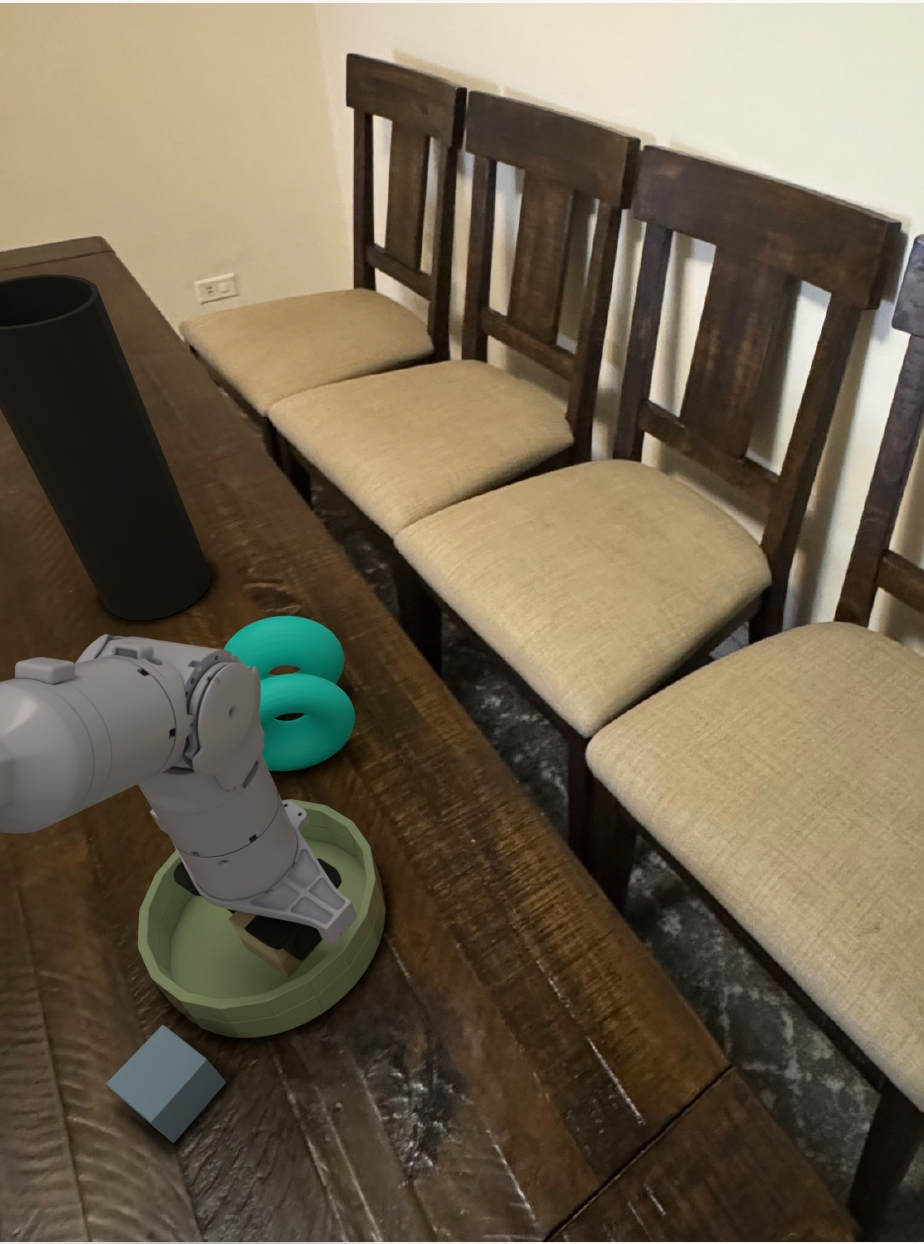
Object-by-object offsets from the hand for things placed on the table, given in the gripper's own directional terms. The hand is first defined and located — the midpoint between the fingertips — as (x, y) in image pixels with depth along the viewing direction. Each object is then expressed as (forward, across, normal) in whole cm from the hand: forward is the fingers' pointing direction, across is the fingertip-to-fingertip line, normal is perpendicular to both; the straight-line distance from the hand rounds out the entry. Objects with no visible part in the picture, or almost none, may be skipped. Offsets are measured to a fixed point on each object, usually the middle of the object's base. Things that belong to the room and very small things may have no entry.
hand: (284, 929), depth 56 cm
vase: (+6, +42, -21) cm, 47 cm away
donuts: (+6, +16, -15) cm, 22 cm away
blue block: (+5, 0, +10) cm, 11 cm away
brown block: (+1, 0, 0) cm, 1 cm away
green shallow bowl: (+5, +4, -1) cm, 6 cm away
